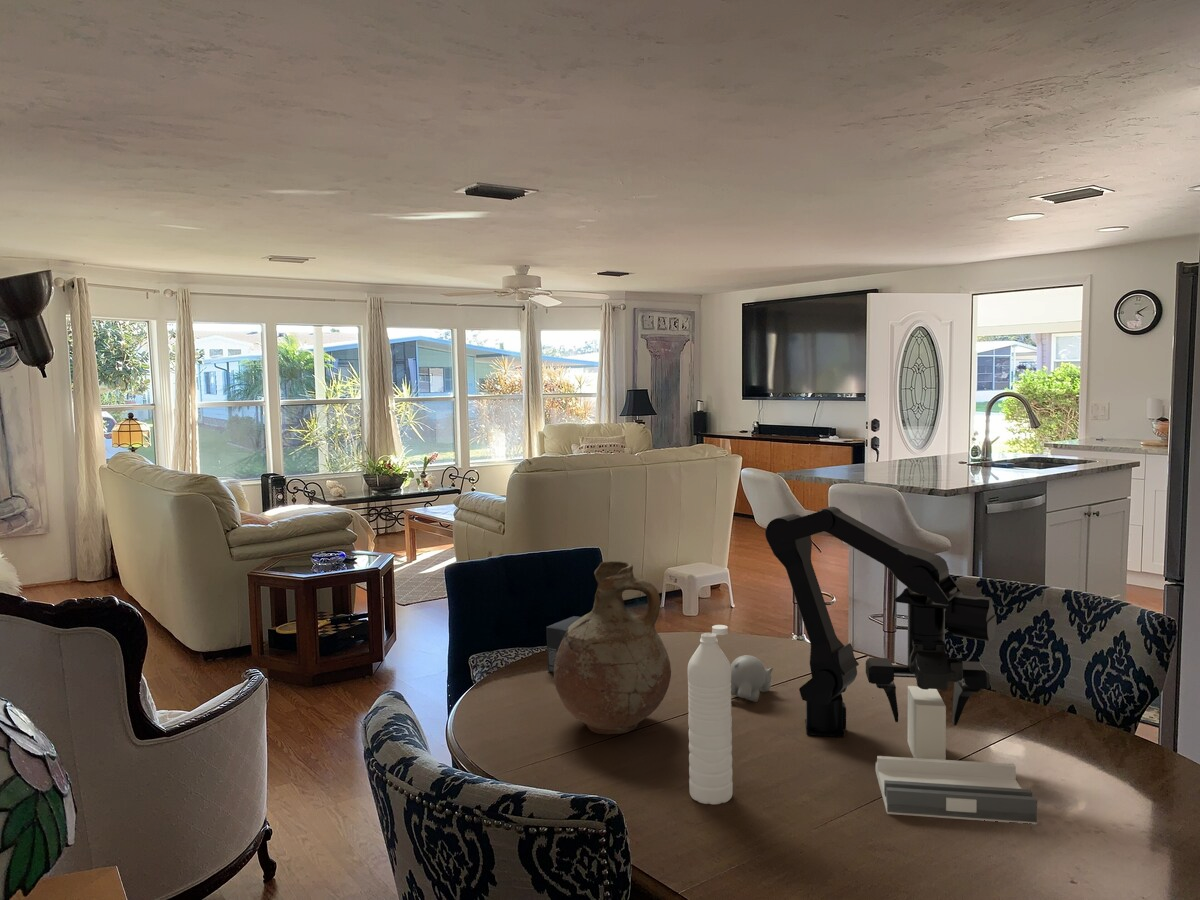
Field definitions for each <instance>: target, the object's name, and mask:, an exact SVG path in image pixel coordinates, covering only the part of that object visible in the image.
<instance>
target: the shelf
mask: <svg viewBox="0 0 1200 900" xmlns="http://www.w3.org/2000/svg"><path fill="white" fill-rule="evenodd" d="M1016 769H1017V767H1016V765H1015V764H1014V763H1007V762H1006V763H1005V762H989V761H987V762H985V761H971V760H969V761H968V760H957V759H956V760H954V759H952V760H951V759H946V760H939V759H922V758H913V757H904V756H902V757H901V756H899V757H898V756H888V755H887V756H885V755H884V756H883V755H877V757H876V761H875V774H876V779H877V782H878V786H879V789H880V793H881V795H882V800H883V804H884V807H885V811H886V814H887V815H899V816H900V815H901V816H914V817H924V818H925V817H926V818H927V817H929V818H941V819H942V818H943V819H955V820H956V819H957V820H966V821H967V820H969V821H970V820H971V821H981V822H982V821H984V820H985V821H986V822H995V821H998V823H1009V822H1018V823H1017V824H1023V823H1028V824H1027V825H1030V824H1029V823H1032V824H1031V825H1038V799H1037V797H1036V796H1033V795H1034V794H1033V791H1032V790H1031V789H1029V788H1022V787H1021V786H1020V784H1019V783H1018V781H1017V780H1016V779H1017V777H1016V776H1017V775H1016V772H1017V771H1016ZM985 821H984V822H985ZM1033 823H1034V824H1033Z"/></svg>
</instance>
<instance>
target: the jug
mask: <svg viewBox="0 0 1200 900" xmlns="http://www.w3.org/2000/svg"><path fill="white" fill-rule="evenodd" d="M633 571H634V566H633V564H632V563H631V562H628V561H623V560H610V561H609V560H607V561H601V562H600V563H599V565H598V567H597V568H596V569H595V570H594V572H593V573H594V577H595V581H596V583H597V588H596V592H595V594H594V602H593V607H592V609H591V611H590V612H587V613H586V614H584V615H582V616H580V617H581V618H580V619H578V620H577V621H575V622H574V623H573V624H571V625H570V626H569V627H568V628H567V631H566V634H565V636H564V638H563V640H562V642H561V644H560V646H559V649H558V652H557V655H556V659H555V664H554V673H553V679H554V680H553V681H554V687H555V690H556V692H557V694H558V696H559V698H560V701H561V702H562V704H563V706H564V707H565V708H566V710H567V711H568V712H569V713H570V715H572V716H573V717H574V718H575V719H576V720H579V721H580V722H581V723H583V724H585V725H586V727H587V728H588V729H589V731H591V732H594V733H595V734H599V735H600V734H601V735H623V734H626V733H629V732H632V731H634V730H635V729H636V728H637V727H638V725H639V723H640V722H643V720H645V719H646V718H648V717H650V716H651V715H652V714H653V712H655V711H656V710H657V709H658V707H659V706H660V705H661V703H662V701H664V698H665V697H666V694H667V692H668V689H669V687H670V683H671V675H672V668H671V661H670V658H669V654H668V651H667V648H666V647H665V644H664V643H663V639H662V638H661V636H660V635H659V633H658V632H657V629H656V627H655V626H656V623H657V620H658V618H659V614H660V608H661V597H660V594H659V590H658V589H657V588H656V587H655V585H653V584H652V582H650V581H649V580H646V579H644V578H636V577H635V576H634V572H633ZM631 590H632V591H640V593H641V592H642V593H643V594H645V596H646V599H647V604H646V605H647V606H646V609H645V611H644V612H643V613H642V614H640V615H639V614H637V613H635V612H633V611H632V610H629V609H628V608H627V607H626V605H625V603H624V598H623V593H624V592H625V591H631Z"/></svg>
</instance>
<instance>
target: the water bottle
mask: <svg viewBox="0 0 1200 900" xmlns="http://www.w3.org/2000/svg"><path fill="white" fill-rule="evenodd" d="M724 635H729V627H728V626H727V625H724V624H715V625H712V626H711V632H704V633H703V632H702V633H701V636H700V639H699V641H700V644H699V645H698V647H697V648H696V650H695V652H694V653H693V654H692V656H691V657H690V659H689V661H688V664H687V686H688V687H687V691H688V693H687V696H688V699H687V700H688V702H687V706H688V710H687V711H688V714H687V715H688V717H687V718H688V719H687V720H688V721H687V722H688V728H689V729H688V740H689V742H688V751H689V754H688V763H689V766H688V775H689V779H688V783H689V784H688V785H689V795H690V797H691V799H693V800H694V801H697V802H698V803H700V804H704V805H708V804H709V805H720V804H725V803H727V802H728V801H730V800H731V799H732V797H733V785H734V784H733V766H732V765H733V755H732V752H733V744H732V740H733V733H732V732H733V731H732V727H733V721H732V720H733V719H732V695H731V663H730V660H729V659H728V658H727V656H726V654H725V653H724V651H723V650H722V649H721V647H720V646H719V644H718V641H719V640H718V638H717V637H718V636H724Z"/></svg>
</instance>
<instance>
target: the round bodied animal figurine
mask: <svg viewBox="0 0 1200 900" xmlns="http://www.w3.org/2000/svg"><path fill="white" fill-rule="evenodd" d="M730 665H731V696H735V697H738V698H739V699H740V698H741V699H746V700H748V701H750V702H753V703H755V702H758V700H759V698H760V697H759V696H760V692H762V693H767V692H769V691H770V690H771V688H772V672H773V669H774V668H773V667H770V668H766V667H765V665H764V664H763V662H762V661H761V660H760V659H759V658H758V657H755V656H754V655H750V654H749V655H748V654H744V655H740V656H737V657H736V658H735V659H734V660H733V661H732V663H730Z"/></svg>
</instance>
